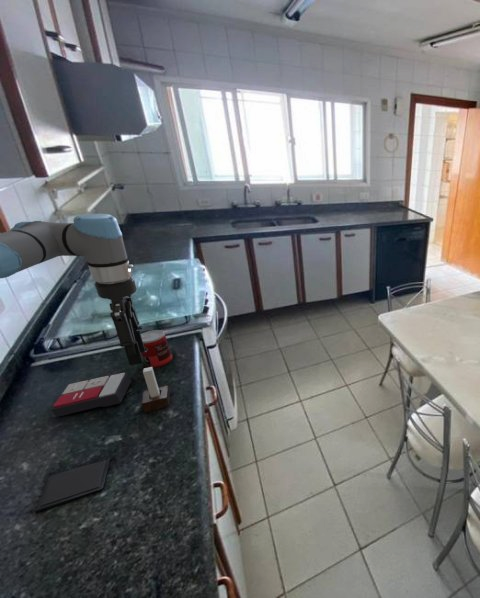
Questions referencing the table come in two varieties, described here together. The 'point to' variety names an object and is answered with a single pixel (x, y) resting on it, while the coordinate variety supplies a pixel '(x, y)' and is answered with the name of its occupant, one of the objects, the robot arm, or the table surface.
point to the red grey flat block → (92, 394)
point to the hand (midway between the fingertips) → (137, 357)
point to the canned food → (156, 349)
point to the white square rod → (151, 382)
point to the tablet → (73, 485)
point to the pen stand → (156, 400)
